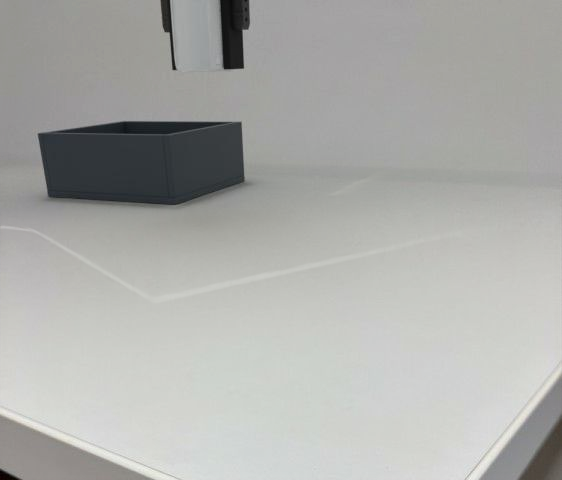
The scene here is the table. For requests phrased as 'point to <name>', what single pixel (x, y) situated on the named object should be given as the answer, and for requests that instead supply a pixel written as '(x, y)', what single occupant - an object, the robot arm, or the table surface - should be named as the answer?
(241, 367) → the table surface
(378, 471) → the table surface
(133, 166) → the bin
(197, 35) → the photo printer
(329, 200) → the table surface
